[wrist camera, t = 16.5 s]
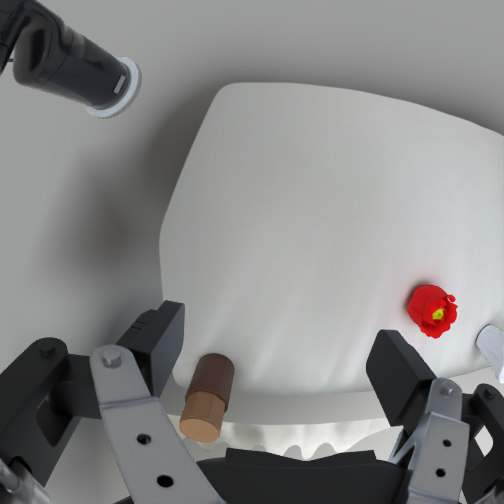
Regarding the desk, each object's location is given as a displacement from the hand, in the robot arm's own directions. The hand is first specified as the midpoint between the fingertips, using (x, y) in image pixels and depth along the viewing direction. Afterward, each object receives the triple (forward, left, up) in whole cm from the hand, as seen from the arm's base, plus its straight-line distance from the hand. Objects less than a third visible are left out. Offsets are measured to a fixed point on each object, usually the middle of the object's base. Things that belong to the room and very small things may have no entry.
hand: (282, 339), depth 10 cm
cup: (+54, -18, -32) cm, 65 cm away
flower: (+29, -10, -32) cm, 44 cm away
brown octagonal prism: (-6, -28, -22) cm, 35 cm away
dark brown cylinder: (-6, -28, -31) cm, 42 cm away
